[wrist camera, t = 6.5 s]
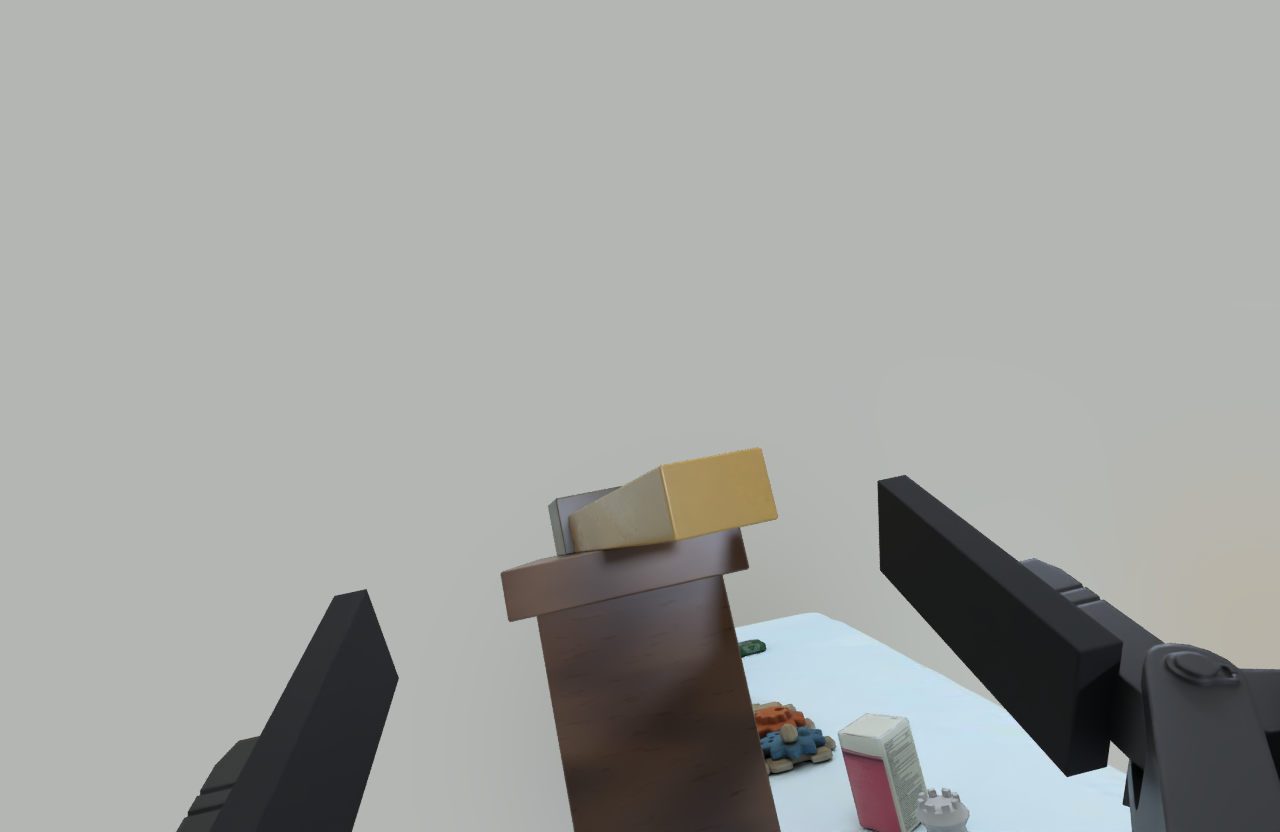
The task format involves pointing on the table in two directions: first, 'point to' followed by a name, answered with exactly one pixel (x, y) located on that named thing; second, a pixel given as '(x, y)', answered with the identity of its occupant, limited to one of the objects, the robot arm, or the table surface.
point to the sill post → (649, 686)
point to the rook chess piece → (942, 812)
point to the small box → (883, 772)
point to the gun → (751, 647)
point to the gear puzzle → (789, 737)
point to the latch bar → (667, 505)
